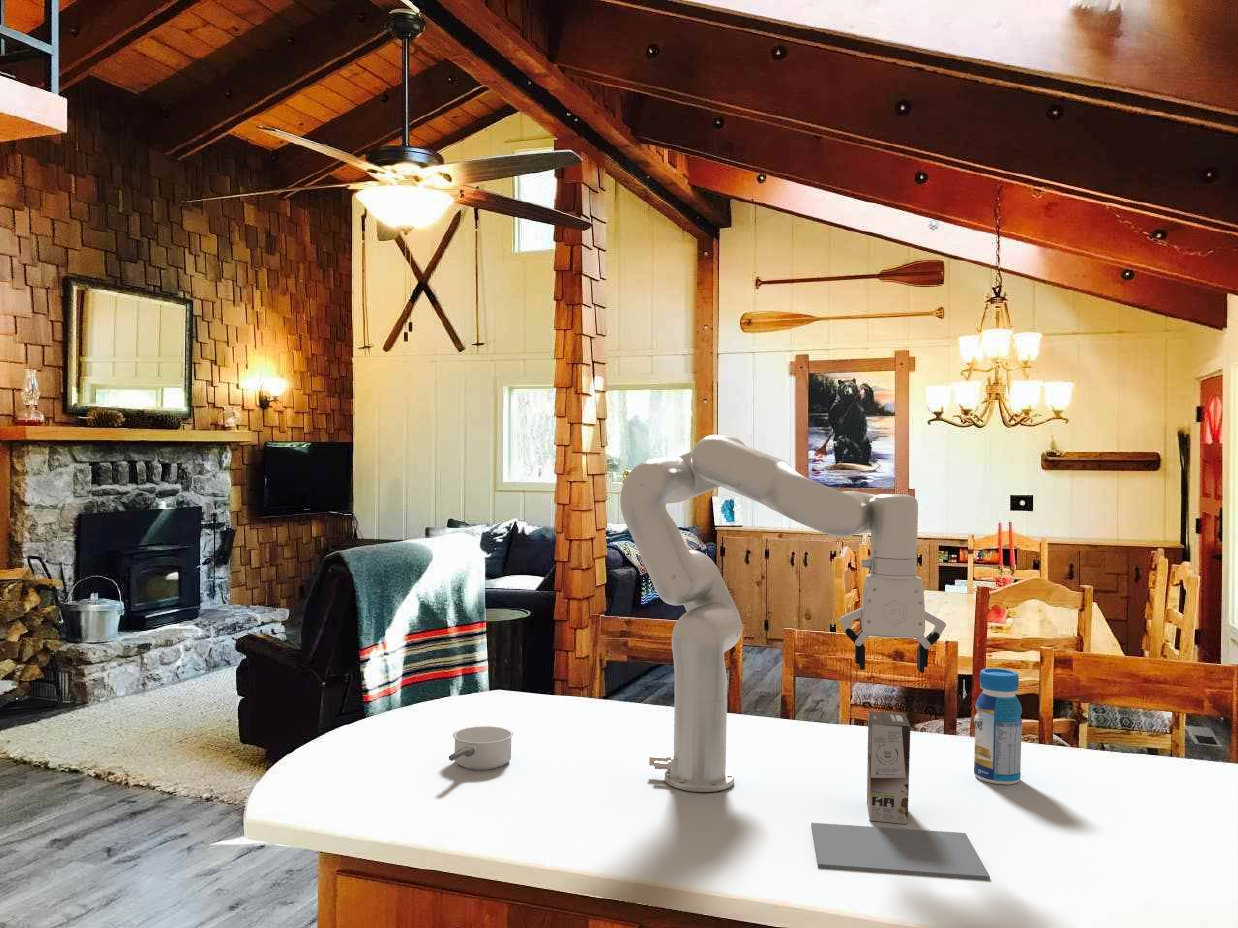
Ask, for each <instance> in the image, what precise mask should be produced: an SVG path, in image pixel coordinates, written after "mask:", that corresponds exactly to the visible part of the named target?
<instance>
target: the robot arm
mask: <svg viewBox="0 0 1238 928" xmlns="http://www.w3.org/2000/svg"><path fill="white" fill-rule="evenodd" d="M719 487H721V488H723V489H726V490H729V491H731V492H734V493H735V494H738V495H740V496H742V497H745V498H748V499H749V500H753V501H754V502H757V503H759V504H761V505H763V506H765V507H767V508H769V509H770V510H772V511H775V512H776V513H779V514H781V515H782V516H785V517H787V518H788V519H790V520H792V521H794V522H796V523H798V524H801V525H804V526H806V527H807V528H808V527H809V528H810V529H813V530H816V531H818V532H820V533H822V534H824V535H825V534H826V535H828V536H831V537H835V538H840V539H841V538H842V539H844V538H849V537H852V536H856V535H859V534H870V555H869V557H868V559H862V560H861V563H860V564H861V568H862V569H866V570H868V571H869V573H868V574H865V578H864V579H865V580H864V583H863V589H862V595H861V596H862V597H861V603H860V604H861V606H860V607H859V608H857V609H854V610H853V611H850V612H848V613H846V614H844V615H841V616H840V617H839V618H838V621H839V623H840V625H841V627H842V629H843V631H844V633H845V635H846V636H847V637H848V638H849V639H850V640H851V641H852V642H853V643H854V663H855V665H857V664H858V668H859V670H860V671H864V670H866V645H865V642H866V641H867V640H868V638H869V637H879V638H899V639H900V638H901V639H916V640H917V641H918V645H917V647H916V670H917V671H918V672H919V673H921V674H924V673H925V668H928V666H929V649H931V647H932V646H933V645H934V644H935V643H936V642H937V641H938V640H939V639H940V637H941V635H942V634H943V631H944V630H945V628H946V626H947V624H946V622H945V621H944V620H942V619H940V618H938V617H937V616H935V615H932V614H931V613H930V612H927V611H926V607H925V606H926V605H925V604H926V603H925V592H924V583H923V580H922V579H923V578H922V577H920V576H919V575H918V576H917V571H918V570H917V568H918V567H917V566H918V529H919V528H918V527H919V525H918V524H919V523H918V522H919V521H918V520H919V503H918V500H917V498H916V497H915V496H912V495H910V494H903V493H901V494H899V493H880V494H873V493H867V492H861V491H856V490H854V491H853V490H848V491H847V490H846V491H840V490H839V489H838V490H837V489H835V488H832V487H830V486H828V485H825V484H822V483H819V482H817V481H815V480H812V479H810V478H808V477H806V476H804V475H803V474H800V473H798V472H797V471H796V470H794V469H793V468H792V466H791V465H790V464H789V463H788V462H786V461H784V460H783V459H781V458H777V457H775V456H772V455H770V454H767V453H764V452H762V451H759V450H756V449H754V448H752V447H750V446H747V445H746V444H745V443H744V442H743V441H742V440H741V439H739V438H736V437H734V436H729V435H720V434H711V435H707V436H705V437H703V438H701V439H700V440H699V441H698V442H696V444H695V445H694V447H693V449H692V451H689V452H686V453H684V454H681V455H680V456H678V457H674V458H662V457H661V458H660V457H659V458H658V457H657V458H651V459H647V460H644V461H642V462H640V463H638V464H637V465H636V466H634V467H633V468H632V469H631V471H630V472H629V473H628V474H627V476H626V478H625V480H624V482H623V484H622V487H621V489H620V496H619V497H620V498H619V501H620V502H619V503H620V504H619V505H620V510H621V511H620V512H621V515H622V517H623V521H624V522H625V525H626V527H627V530H628V531H629V534H630V536H631V538H632V540H633V542H634V544H635V547H636V548H637V551H638V553H639V556H640V559H641V560H642V563H643V566H644V567H645V570H646V572H647V574H648V576H649V578H650V581H651V582H652V586H653V587H654V589H655V591H656V593H657V596H658V597H659V599H661V600H662V602H664V603H666V604H667V605H671V606H682V605H683V607H684V608H685V611H686V612H684V613H683V614H682V615H680V617H679V618H678V619H677V621H676V622H675V624H674V626H673V630H672V632H671V633H672V634H671V650H672V657H673V666H674V667H673V668H674V708H673V709H674V712H673V713H674V717H673V721H674V723H673V750H672V753H671V754H668V753H667V754H666V756H664V755H663V756H662V755H659V754H658V755H657V754H650V755H649V764H648V765H649V766H650V767H654V770H665V772H664V781H665V782H666V784H668V785H669V786H671V787H673V788H675V789H679V790H681V791H687V792H693V793H694V792H695V793H696V792H697V793H712V792H713V793H714V792H720V791H725V790H726V789H729V788H731V787H732V786H733V785H734V783H735V782H734V781H735V775H734V774H733V773H732V772H731V771H730V770H728V769H727V768H726V767H727V765H726V762H727V724H728V723H727V718H728V717H727V713H728V712H727V711H728V709H727V708H728V678H727V669H726V662H725V653H726V652H727V651H729V650H731V649H732V648H733V647H735V646H736V644H737V643H738V642H739V641H740V638H741V636H742V632H743V623H742V619H741V614H740V612H739V610H738V608H737V606H736V603H735V601H734V599H733V597H732V596H731V593H730V590H729V589H728V587H727V585H726V583H725V581H724V580H725V579H724V578H723V576H722V574H721V572H720V570H719V568H718V566H717V565H716V564H715V562H714V560H712V558H710V557H709V556H708V555H707V554H705V553H704V552H701V551H699V550H693V549H691V550H690V549H689V548H688V546H687V545H686V542H685V541H684V539H683V536H682V533H681V531H680V529H679V527H678V525H677V523H676V522H675V520H674V519H673V518H672V517H671V515H670V514H669V512H668V510H667V506H666V505H667V504H674V503H681V502H685V501H688V500H691V499H693V498H695V497H697V496H700V495H703V494H705V493H707V492H710V491H713V490H715V489H718V488H719ZM858 619H860V628H861V629H860V630H859V631H858V632H857V633H856V632H855V631H854V630H853V629H852V628H851V625H850V624H851V622H853V621H856V620H858ZM926 622H928V623H930V624H932V625H933V626H934V627H933V630H932V631H931V632H930V633H929V634H927V635H926V636H925V633H926Z"/></svg>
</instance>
